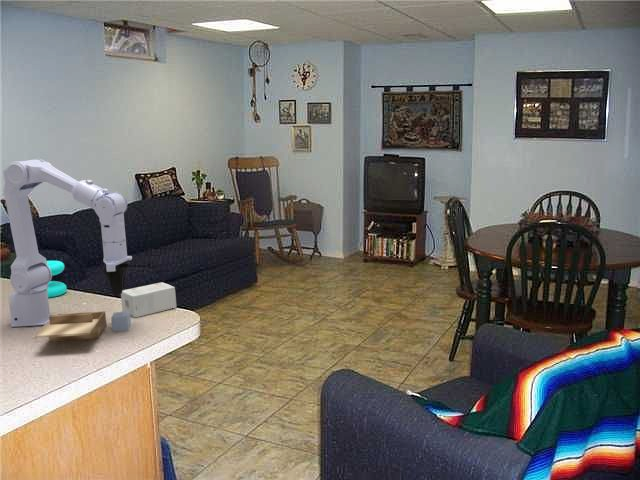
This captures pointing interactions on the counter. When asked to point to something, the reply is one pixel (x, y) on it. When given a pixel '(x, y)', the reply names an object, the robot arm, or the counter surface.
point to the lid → (68, 325)
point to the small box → (148, 299)
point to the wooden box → (95, 332)
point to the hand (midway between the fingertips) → (118, 292)
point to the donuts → (55, 286)
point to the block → (121, 321)
